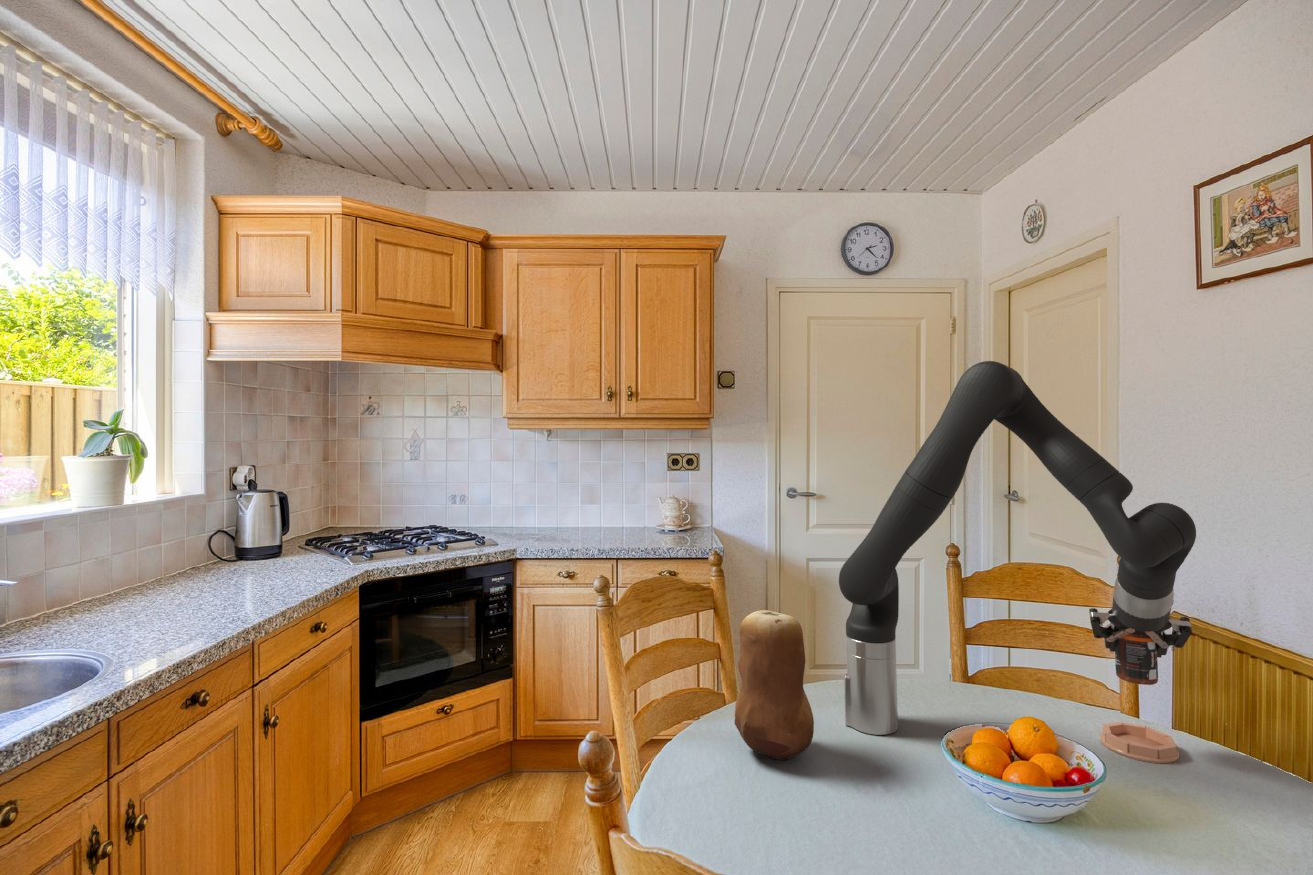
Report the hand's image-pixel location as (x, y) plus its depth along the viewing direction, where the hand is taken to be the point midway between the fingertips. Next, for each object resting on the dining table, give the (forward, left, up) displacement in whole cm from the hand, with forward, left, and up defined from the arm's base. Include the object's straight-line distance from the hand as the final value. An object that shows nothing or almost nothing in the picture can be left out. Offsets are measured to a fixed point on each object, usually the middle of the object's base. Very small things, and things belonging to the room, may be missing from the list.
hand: (1134, 649), depth 109 cm
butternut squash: (-56, -34, -17) cm, 68 cm away
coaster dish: (0, -1, -17) cm, 17 cm away
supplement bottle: (0, -2, -5) cm, 5 cm away
